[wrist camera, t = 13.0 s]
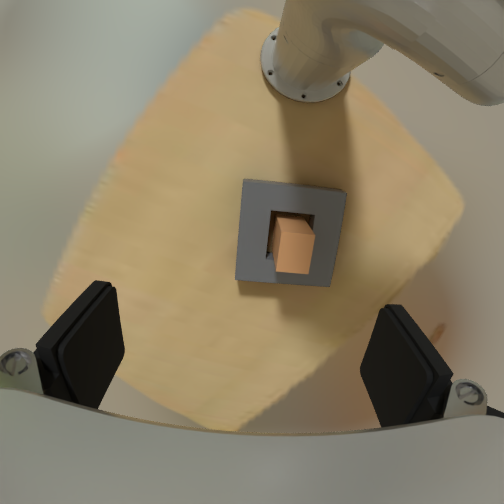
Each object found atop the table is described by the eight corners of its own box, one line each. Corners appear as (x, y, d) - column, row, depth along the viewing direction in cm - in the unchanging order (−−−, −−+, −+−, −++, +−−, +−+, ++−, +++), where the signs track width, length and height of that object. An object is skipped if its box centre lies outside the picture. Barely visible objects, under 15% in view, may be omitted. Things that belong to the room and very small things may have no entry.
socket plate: (243, 178, 42) (242, 181, 39) (340, 189, 42) (346, 193, 40) (235, 271, 47) (234, 279, 44) (325, 278, 47) (329, 286, 44)
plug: (275, 213, 44) (281, 231, 35) (303, 216, 44) (315, 235, 35) (271, 246, 45) (275, 271, 37) (298, 249, 46) (308, 274, 37)
